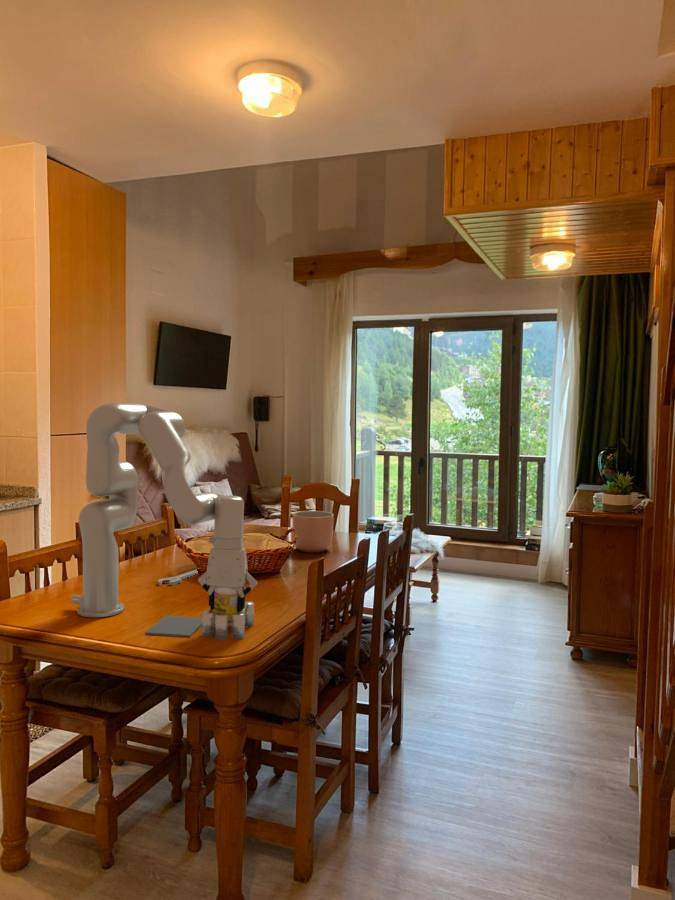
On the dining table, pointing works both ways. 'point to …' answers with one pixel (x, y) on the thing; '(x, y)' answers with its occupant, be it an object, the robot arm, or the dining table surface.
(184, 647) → the dining table surface
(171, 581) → the adjustable wrench
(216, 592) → the supplement bottle
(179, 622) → the rubber mat
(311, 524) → the planter
